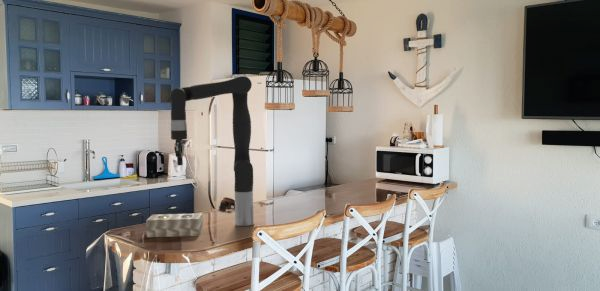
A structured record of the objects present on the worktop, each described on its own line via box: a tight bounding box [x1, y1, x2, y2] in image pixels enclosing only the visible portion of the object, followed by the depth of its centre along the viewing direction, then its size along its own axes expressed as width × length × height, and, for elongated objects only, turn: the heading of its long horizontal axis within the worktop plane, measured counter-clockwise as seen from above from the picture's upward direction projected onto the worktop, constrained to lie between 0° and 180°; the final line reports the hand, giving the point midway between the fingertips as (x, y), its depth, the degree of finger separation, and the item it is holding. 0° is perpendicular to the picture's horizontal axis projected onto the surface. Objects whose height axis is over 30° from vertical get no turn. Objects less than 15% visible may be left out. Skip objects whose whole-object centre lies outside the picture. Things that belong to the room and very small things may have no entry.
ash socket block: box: [145, 212, 204, 238], centre depth 228 cm, size 24×12×8 cm, turn 93°
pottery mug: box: [218, 197, 235, 212], centre depth 281 cm, size 12×10×8 cm
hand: (180, 165), depth 232 cm, fingers closed
